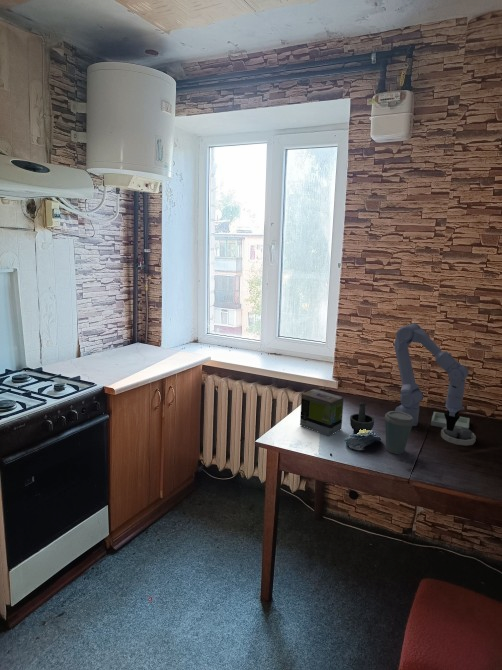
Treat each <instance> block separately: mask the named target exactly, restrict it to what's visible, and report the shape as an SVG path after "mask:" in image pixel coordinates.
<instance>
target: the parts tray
mask: <svg viewBox="0 0 502 670" xmlns="http://www.w3.org/2000/svg"><path fill="white" fill-rule="evenodd" d="M444 413H445V412H438V411H433V414H432V416H431V420H430V426H434V427H438V428H441V429H443V428H445V427H447V424H446V418H445V415H444ZM454 427H458V428H464V429H469V428H470V417H465V416H464V417H463V416H460V418H459V419H458V420H457V422H456V424H455V426H454ZM469 430H470V429H469Z"/></svg>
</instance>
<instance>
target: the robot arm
mask: <svg viewBox="0 0 502 670" xmlns="http://www.w3.org/2000/svg"><path fill="white" fill-rule="evenodd" d="M395 334H396V337H395V340H394V343H393V347H394V352H395V355H396V357H395V358H396V361H397V366H398V371H399V376H400V380H401V385H402V386H401V389H400V398H399V401H400V403H401V404H400V405H399V406H396V408H395V410H394V411H399V412H404V413H407V414H409V415H411V416H412V417H413V419H414V424H413V425H412V427H416V426H418V423H419V415H420V414H419V413H420V407H421V405H420V402H421V401H422V400H423V399H424V394H423V392H422V391H421V389H420V386H419V384H418V383H416V380H415V379H416V378H415V375H414V370H413V366H412V360H411V355H410V351H409V346H411V345H410V344H412V343H415V344H417V343H418V344H421V346H423V347H424V348H425V349H427V351H428V352H429V353H430V354H431V355H432V356H434V359H435V362H436V363H437V364H438V366H440V367H441V368H442V369H443V370H444V371H445V373H447V377H448V379H449V382H448V388H447V396H446V401H445V405H444V406H445V408H446V411H447V412H446V411H444V412H443V413H444V415H445V418H446V424H447V430H450V431H453V429H454V426H455V424H456V422H457V420H458V419H459V418H460V417H461V416H460V415H459V413H460V412H461V410H465V406H463V405H462V404H463V399H464V393H465V384H466V379H467V377H468V376H469V370H468V368H467V366H466V365H464V364H461V363H460V362H458V361H457V360H456V359H455V358H454V357H453V356H452V355H453V354H452V353H451V352H448V351H445V350H442V349H441V348H440V347H439V346H438V345H437V344H436V342H434V341H433V340H432V338H431V337H430V336H429V335H428V333H427V332H426V331H425V329H423V328H421V325H419V324H417V323H410V324H408V325H404V326H401V327H399V329H398V330H396V333H395Z"/></svg>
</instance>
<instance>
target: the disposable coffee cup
mask: <svg viewBox="0 0 502 670" xmlns="http://www.w3.org/2000/svg"><path fill="white" fill-rule="evenodd" d="M384 420H385V423H384V424H385V426H384V427H385V449H386V451H388V453H391V454H393V453H394V454H395V455H402V454H404V452H405V450H406V446H407V443H408V440H409V436H410V435H411V430H412V428H413V426H412V425H413V424H414V419H413V417H412V416H411V415H409V414H407V413H404V412H399V411H395V410H391V411H387V412H386V413H385V415H384ZM401 453H402V454H401Z"/></svg>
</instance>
